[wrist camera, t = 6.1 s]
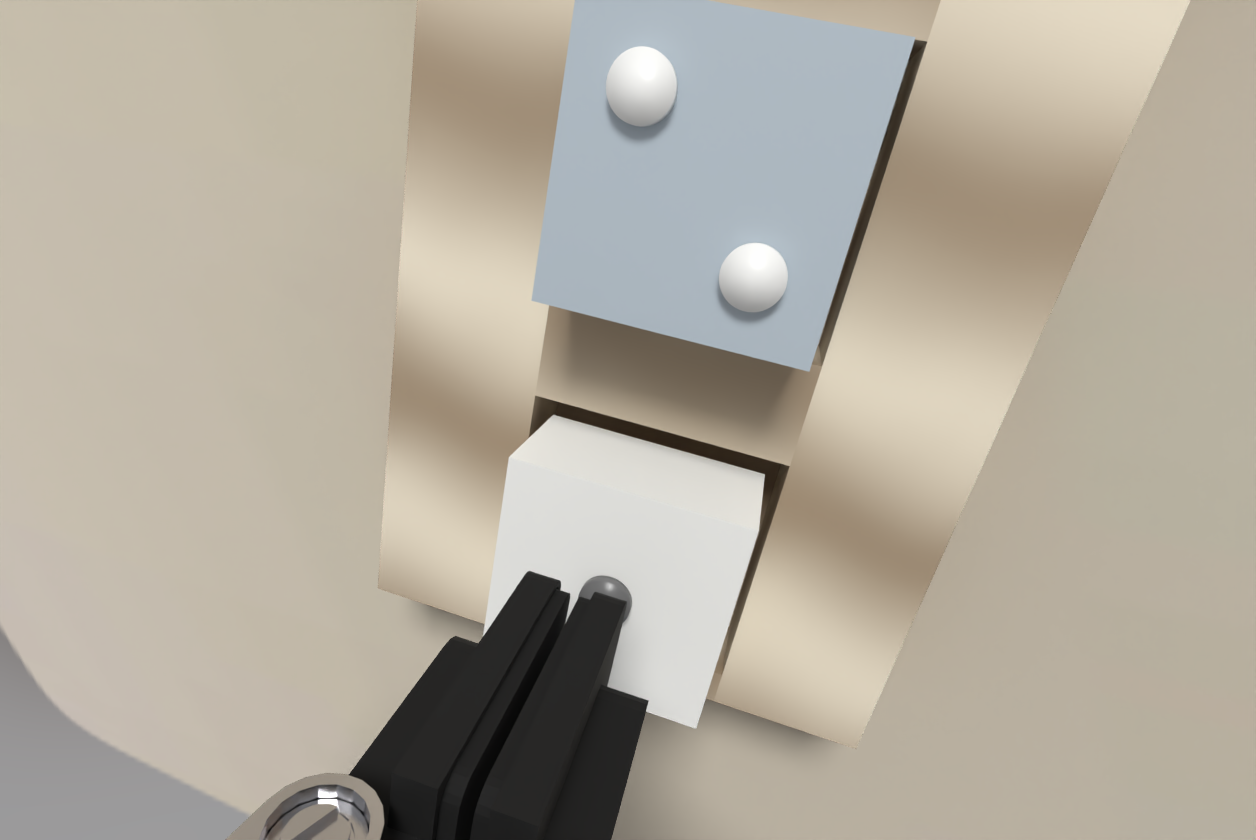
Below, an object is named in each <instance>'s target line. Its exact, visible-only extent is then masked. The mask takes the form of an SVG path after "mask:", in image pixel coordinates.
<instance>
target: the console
mask: <svg viewBox="0 0 1256 840" xmlns="http://www.w3.org/2000/svg"><path fill="white" fill-rule="evenodd" d="M709 1H715V2H720V3H726V4H732V5H737V6H743V7H749V8H754V9H760V10H765V11H771V12H777V13H782V14H788V15H794V16H799V17H805V18H811V19H816V20H822V21H828V22H833V23H839V24H844V25H850V26H856V27H861V28H867V29H873V30H878V31H884V32H890V33H895V34H901V35H906V36H912V37H915V41H914V44H913V47H912V50H911V53H910V56H909V59H908V63H907V66H906V69H905V72H904V75H903V78H902V82H901V85H900V88H899V91H898V94H897V97H896V100H895V104H894V107H893V110H892V113H891V116H890V119H889V122H888V126H887V129H886V132H885V135H884V138H883V141H882V145H881V148H880V151H879V154H878V157H877V160H876V163H875V167H874V170H873V173H872V176H871V179H870V182H869V185H868V189H867V192H866V195H865V198H864V201H863V204H862V208H861V211H860V214H859V217H858V220H857V223H856V226H855V230H854V233H853V236H852V239H851V242H850V245H849V249H848V252H847V255H846V258H845V261H844V264H843V267H842V271H841V274H840V277H839V280H838V283H837V286H836V289H835V293H834V296H833V299H832V302H831V305H830V308H829V312H828V315H827V318H826V321H825V324H824V327H823V330H822V334H821V337H820V340H819V343H818V346H817V349H816V352H815V356H814V359H813V362H812V365H811V368H810V371H809V372H808V371H804V370H800V369H796V368H793V367H789V366H785V365H781V364H777V363H773V362H769V361H765V360H761V359H757V358H753V357H750V356H746V355H742V354H738V353H734V352H730V351H726V350H722V349H718V348H714V347H710V346H707V345H703V344H699V343H695V342H691V341H687V340H683V339H679V338H675V337H671V336H667V335H664V334H660V333H656V332H652V331H648V330H644V329H640V328H636V327H632V326H628V325H625V324H621V323H617V322H613V321H609V320H605V319H601V318H597V317H593V316H589V315H585V314H582V313H578V312H574V311H570V310H566V309H562V308H558V307H554V306H550V305H546V304H542V303H539V302H535V301H531V300H532V294H533V287H534V280H535V273H536V266H537V259H538V252H539V245H540V238H541V231H542V224H543V217H544V210H545V203H546V197H547V190H548V183H549V176H550V169H551V162H552V155H553V148H554V141H555V134H556V127H557V120H558V113H559V107H560V100H561V93H562V86H563V79H564V72H565V65H566V58H567V51H568V44H569V37H570V30H571V23H572V17H573V10H574V3H575V0H417V10H416V25H415V40H414V55H413V70H412V85H411V100H410V115H409V130H408V144H407V159H406V174H405V189H404V204H403V219H402V234H401V249H400V264H399V279H398V294H397V309H396V324H395V338H394V353H393V368H392V383H391V398H390V413H389V428H388V443H387V458H386V473H385V488H384V503H383V517H382V532H381V547H380V562H379V577H378V589H381V590H384V591H387V592H390V593H393V594H396V595H399V596H402V597H405V598H408V599H411V600H414V601H417V602H420V603H423V604H426V605H429V606H432V607H435V608H438V609H441V610H444V611H447V612H450V613H453V614H456V615H459V616H462V617H465V618H468V619H471V620H474V621H477V622H480V623H482V624H485V619H486V612H487V605H488V598H489V591H490V584H491V577H492V571H493V564H494V557H495V550H496V543H497V536H498V529H499V522H500V515H501V508H502V501H503V494H504V487H505V480H506V474H507V467H508V460H509V457H510V456H511V455H512V454H513V453H514V452H515V451H516V450H517V449H518V448H519V447H520V446H521V445H522V444H523V443H524V442H525V441H526V440H527V439H528V438H529V437H530V436H532V435H533V434H534V433H535V432H536V431H537V430H538V429H539V428H540V427H541V426H542V425H543V424H544V423H545V422H546V421H547V420H548V419H549V418H550V417H551V416H553V415H556V416H560V417H563V418H567V419H570V420H574V421H577V422H581V423H584V424H588V425H592V426H595V427H599V428H602V429H606V430H609V431H613V432H616V433H620V434H624V435H627V436H631V437H634V438H638V439H641V440H645V441H648V442H652V443H656V444H659V445H663V446H666V447H670V448H673V449H677V450H680V451H684V452H688V453H691V454H695V455H698V456H702V457H705V458H709V459H712V460H716V461H720V462H723V463H727V464H730V465H734V466H737V467H741V468H744V469H748V470H752V471H755V472H759V473H762V474H765V478H764V488H763V497H762V506H761V516H760V525H759V532H758V535H757V538H756V542H755V545H754V548H753V551H752V554H751V557H750V560H749V564H748V567H747V570H746V573H745V576H744V579H743V583H742V586H741V589H740V592H739V595H738V598H737V601H736V605H735V608H734V611H733V614H732V617H731V620H730V623H729V627H728V630H727V633H726V636H725V639H724V642H723V646H722V649H721V652H720V655H719V658H718V661H717V664H716V668H715V671H714V674H713V677H712V680H711V683H710V686H709V690H708V693H707V696H706V699H709V700H712V701H714V702H717V703H720V704H723V705H726V706H729V707H732V708H735V709H738V710H741V711H744V712H747V713H750V714H753V715H756V716H759V717H762V718H765V719H768V720H771V721H774V722H777V723H780V724H783V725H786V726H789V727H792V728H795V729H798V730H801V731H804V732H807V733H810V734H813V735H816V736H819V737H822V738H825V739H827V740H830V741H833V742H836V743H839V744H842V745H845V746H848V747H851V748H854V749H856V748H857V746H858V744H859V742H860V739H861V737H862V735H863V733H864V730H865V728H866V726H867V724H868V721H869V719H870V717H871V715H872V712H873V710H874V708H875V706H876V703H877V701H878V699H879V697H880V695H881V692H882V690H883V688H884V686H885V683H886V681H887V679H888V677H889V674H890V672H891V670H892V668H893V665H894V663H895V661H896V659H897V656H898V654H899V652H900V650H901V647H902V645H903V643H904V641H905V639H906V636H907V634H908V632H909V630H910V627H911V625H912V623H913V621H914V618H915V616H916V614H917V612H918V609H919V607H920V605H921V603H922V600H923V598H924V596H925V594H926V592H927V589H928V587H929V585H930V583H931V580H932V578H933V576H934V574H935V571H936V569H937V567H938V565H939V562H940V560H941V558H942V556H943V553H944V551H945V549H946V547H947V544H948V542H949V540H950V538H951V536H952V533H953V531H954V529H955V527H956V524H957V522H958V520H959V518H960V515H961V513H962V511H963V509H964V506H965V504H966V502H967V500H968V497H969V495H970V493H971V491H972V488H973V486H974V484H975V482H976V480H977V477H978V475H979V473H980V471H981V468H982V466H983V464H984V462H985V459H986V457H987V455H988V453H989V450H990V448H991V446H992V444H993V441H994V439H995V437H996V435H997V432H998V430H999V428H1000V426H1001V424H1002V421H1003V419H1004V417H1005V415H1006V412H1007V410H1008V408H1009V406H1010V403H1011V401H1012V399H1013V397H1014V394H1015V392H1016V390H1017V388H1018V385H1019V383H1020V381H1021V379H1022V377H1023V374H1024V372H1025V370H1026V368H1027V365H1028V363H1029V361H1030V359H1031V356H1032V354H1033V352H1034V350H1035V347H1036V345H1037V343H1038V341H1039V338H1040V336H1041V334H1042V332H1043V329H1044V327H1045V325H1046V323H1047V321H1048V318H1049V316H1050V314H1051V312H1052V309H1053V307H1054V305H1055V303H1056V300H1057V298H1058V296H1059V294H1060V291H1061V289H1062V287H1063V285H1064V282H1065V280H1066V278H1067V276H1068V273H1069V271H1070V269H1071V267H1072V265H1073V262H1074V260H1075V258H1076V256H1077V253H1078V251H1079V249H1080V247H1081V244H1082V242H1083V240H1084V238H1085V235H1086V233H1087V231H1088V229H1089V226H1090V224H1091V222H1092V220H1093V218H1094V215H1095V213H1096V211H1097V209H1098V206H1099V204H1100V202H1101V200H1102V197H1103V195H1104V193H1105V191H1106V188H1107V186H1108V184H1109V182H1110V179H1111V177H1112V175H1113V173H1114V170H1115V168H1116V166H1117V164H1118V162H1119V159H1120V157H1121V155H1122V153H1123V150H1124V148H1125V146H1126V144H1127V141H1128V139H1129V137H1130V135H1131V132H1132V130H1133V128H1134V126H1135V123H1136V121H1137V119H1138V117H1139V114H1140V112H1141V110H1142V108H1143V106H1144V103H1145V101H1146V99H1147V97H1148V94H1149V92H1150V90H1151V88H1152V85H1153V83H1154V81H1155V79H1156V76H1157V74H1158V72H1159V70H1160V67H1161V65H1162V63H1163V61H1164V59H1165V56H1166V54H1167V52H1168V50H1169V47H1170V45H1171V43H1172V41H1173V38H1174V36H1175V34H1176V32H1177V29H1178V27H1179V25H1180V23H1181V20H1182V18H1183V16H1184V14H1185V11H1186V9H1187V7H1188V5H1189V3H1190V0H709Z"/></svg>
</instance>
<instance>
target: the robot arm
mask: <svg viewBox="0 0 1256 840" xmlns="http://www.w3.org/2000/svg"><path fill="white" fill-rule="evenodd" d="M569 602H570V593H568V592H564V591H561V581H560V580H557V579H554V578H551V577H547V576H544V575H541V574H538V573H535V572H532V571H528V572H527V573H526V574H525V575H524V576H523V578H522V579H521V581H520V582H519V584H518V585H517V587H516V588H515V590H514V591H513V593H512V594H511V596H510V597H509V599H508V600H507V602H506V603H505V605H504V606H503V608H502V609H501V611H500V612H499V614H498V615H497V617H496V618H495V620H494V621H493V623H492V624H491V626H490V627H489V629H488V630H487V632H486V633H485V635H484V636H483V638H482V639H481V641H480V642H479V644H478V643H475V642H472V641H469V640H466V639H463V638H460V637H457V636H455V637H453V638H451V639H450V640H449V641H448V642H447V643H446V645H445V646H444V647H443V648H442V650H441V651H440V652H439V654H438V655H437V657H436V658H435V659H434V661H433V662H432V663H431V665H430V666H429V667H428V669H427V670H426V671H425V673H424V674H423V675H422V677H421V678H420V679H419V681H418V682H417V684H416V685H415V686H414V688H413V689H412V690H411V692H410V693H409V694H408V696H407V697H406V698H405V700H404V701H403V702H402V704H401V705H400V706H399V708H398V709H397V711H396V712H395V713H394V715H393V716H392V717H391V719H390V720H389V721H388V723H387V724H386V725H385V727H384V728H383V729H382V731H381V732H380V733H379V735H378V736H377V738H376V739H375V740H374V742H373V743H372V744H371V746H370V747H369V748H368V750H367V751H366V752H365V754H364V755H363V756H362V758H361V759H360V760H359V762H358V763H357V765H356V766H355V767H354V769H353V770H352V771H351V773H350V774H349V775H347V774H336V773H324V774H319V775H314V776H309V777H305V778H303V779H301V780H298V781H296V782H294V783H292V784H289V785H287V786H285V787H284V788H283V789H281V790H280V791H279V792H277V793H276V794H275V795H273V796H272V797H271V798H269V799H268V800H267V801H266V802H265V803H264V804H263V805H262V806H260V807H259V808H258V809H257V810H256V811H255V812H254V813H253V814H252V815H251V816H250V817H249V818H248V819H247V820H246V821H245V822H243V824H242V825H240V826H239V827H238V828H237V829H236V830H235V831H234V832H233V833H232V834H231V835H230V836H229V837H228V838H227V839H226V840H611V838H612V835H613V831H614V827H615V823H616V820H617V816H618V812H619V809H620V805H621V801H622V798H623V794H624V790H625V787H626V783H627V779H628V775H629V772H630V768H631V764H632V761H633V757H634V753H635V750H636V746H637V742H638V739H639V735H640V731H641V727H642V724H643V720H644V716H645V713H646V709H647V705H648V702H649V700H646V699H643V698H640V697H637V696H634V695H631V694H628V693H625V692H622V691H619V690H616V689H613V688H610V687H607V686H608V682H609V677H610V673H611V669H612V665H613V661H614V657H615V653H616V648H617V644H618V640H619V636H620V632H621V628H622V624H623V619H624V615H625V611H626V607H627V601H624V600H621V599H618V598H614V597H611V596H608V595H605V594H602V593H598V592H594V593H593V595H592V597H591V599H587V598H583V597H579V598H578V600H577V601H576V603H575V605H574V607H573V609H572V611H571V613H570V615H569V617H568V619H567V621H566V617H567V612H568V607H569ZM565 622H566V623H565Z"/></svg>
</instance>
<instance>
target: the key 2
mask: <svg viewBox="0 0 1256 840" xmlns="http://www.w3.org/2000/svg"><path fill="white" fill-rule="evenodd" d="M914 41H915V37H912V36H906V35H901V34H895V33H890V32H884V31H878V30H873V29H867V28H861V27H856V26H850V25H844V24H839V23H833V22H828V21H822V20H816V19H811V18H805V17H799V16H794V15H788V14H782V13H777V12H771V11H765V10H760V9H754V8H749V7H743V6H737V5H732V4H726V3H720V2H715V1H709V0H575V3H574V10H573V17H572V23H571V30H570V37H569V44H568V51H567V58H566V65H565V72H564V79H563V86H562V93H561V100H560V107H559V113H558V120H557V127H556V134H555V141H554V148H553V155H552V162H551V169H550V176H549V183H548V190H547V197H546V203H545V210H544V217H543V224H542V231H541V238H540V245H539V252H538V259H537V266H536V273H535V280H534V287H533V294H532V300H531V301H535V302H539V303H542V304H546V305H550V306H554V307H558V308H562V309H566V310H570V311H574V312H578V313H582V314H585V315H589V316H593V317H597V318H601V319H605V320H609V321H613V322H617V323H621V324H625V325H628V326H632V327H636V328H640V329H644V330H648V331H652V332H656V333H660V334H664V335H667V336H671V337H675V338H679V339H683V340H687V341H691V342H695V343H699V344H703V345H707V346H710V347H714V348H718V349H722V350H726V351H730V352H734V353H738V354H742V355H746V356H750V357H753V358H757V359H761V360H765V361H769V362H773V363H777V364H781V365H785V366H789V367H793V368H796V369H800V370H804V371H808V372H809V371H810V368H811V365H812V362H813V359H814V356H815V352H816V349H817V346H818V343H819V340H820V337H821V334H822V330H823V327H824V324H825V321H826V318H827V315H828V312H829V308H830V305H831V302H832V299H833V296H834V293H835V289H836V286H837V283H838V280H839V277H840V274H841V271H842V267H843V264H844V261H845V258H846V255H847V252H848V249H849V245H850V242H851V239H852V236H853V233H854V230H855V226H856V223H857V220H858V217H859V214H860V211H861V208H862V204H863V201H864V198H865V195H866V192H867V189H868V185H869V182H870V179H871V176H872V173H873V170H874V167H875V163H876V160H877V157H878V154H879V151H880V148H881V145H882V141H883V138H884V135H885V132H886V129H887V126H888V122H889V119H890V116H891V113H892V110H893V107H894V104H895V100H896V97H897V94H898V91H899V88H900V85H901V82H902V78H903V75H904V72H905V69H906V66H907V63H908V59H909V56H910V53H911V50H912V47H913V44H914Z"/></svg>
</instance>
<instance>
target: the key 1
mask: <svg viewBox="0 0 1256 840" xmlns="http://www.w3.org/2000/svg"><path fill="white" fill-rule="evenodd" d="M764 478H765V474H762V473H759V472H755V471H752V470H748V469H744V468H741V467H737V466H734V465H730V464H727V463H723V462H720V461H716V460H712V459H709V458H705V457H702V456H698V455H695V454H691V453H688V452H684V451H680V450H677V449H673V448H670V447H666V446H663V445H659V444H656V443H652V442H648V441H645V440H641V439H638V438H634V437H631V436H627V435H624V434H620V433H616V432H613V431H609V430H606V429H602V428H599V427H595V426H592V425H588V424H584V423H581V422H577V421H574V420H570V419H567V418H563V417H560V416H556V415H553V416H551V417H550V418H549V419H548V420H547V421H546V422H545V423H544V424H543V425H542V426H541V427H540V428H539V429H538V430H537V431H536V432H535V433H534V434H533V435H532V436H530V437H529V438H528V439H527V440H526V441H525V442H524V443H523V444H522V445H521V446H520V447H519V448H518V449H517V450H516V451H515V452H514V453H513V454H512V455H511V456H510V457H509V460H508V467H507V474H506V480H505V487H504V494H503V501H502V508H501V515H500V522H499V529H498V536H497V543H496V550H495V557H494V564H493V571H492V577H491V584H490V591H489V598H488V605H487V612H486V619H485V626H484V633H483V636H484V635H485V633H486V632H487V630H488V629H489V627H490V626H491V624H492V623H493V621H494V620H495V618H496V617H497V615H498V614H499V612H500V611H501V609H502V608H503V606H504V605H505V603H506V602H507V600H508V599H509V597H510V596H511V594H512V593H513V591H514V590H515V588H516V587H517V585H518V584H519V582H520V581H521V579H522V578H523V576H524V575H525V574H526V573H527V572H528V571H532V572H535V573H538V574H541V575H544V576H547V577H551V578H554V579H557V580H560V581H561V591H564V592H568V593H570V602H569V607H568V612H567V617H566V621H567V619H568V617H569V615H570V613H571V611H572V609H573V607H574V605H575V603H576V601H577V600H578V598H579V597H583V598H587V599H591V597H592V595H593V593H594V592H598V593H602V594H605V595H608V596H611V597H614V598H618V599H621V600H624V601H627V607H626V611H625V615H624V619H623V624H622V628H621V632H620V636H619V640H618V644H617V648H616V653H615V657H614V661H613V665H612V669H611V673H610V677H609V682H608V686H607V687H610V688H613V689H616V690H619V691H622V692H625V693H628V694H631V695H634V696H637V697H640V698H643V699H646V700H649V702H648V705H647V709H646V712H649V713H651V714H654V715H657V716H660V717H663V718H666V719H669V720H672V721H675V722H678V723H681V724H683V725H686V726H689V727H692V728H695V729H696V727H697V724H698V721H699V718H700V715H701V712H702V709H703V705H704V702H705V699H706V696H707V693H708V690H709V686H710V683H711V680H712V677H713V674H714V671H715V668H716V664H717V661H718V658H719V655H720V652H721V649H722V646H723V642H724V639H725V636H726V633H727V630H728V627H729V623H730V620H731V617H732V614H733V611H734V608H735V605H736V601H737V598H738V595H739V592H740V589H741V586H742V583H743V579H744V576H745V573H746V570H747V567H748V564H749V560H750V557H751V554H752V551H753V548H754V545H755V542H756V538H757V535H758V532H759V525H760V516H761V506H762V497H763V488H764ZM565 623H566V622H565Z"/></svg>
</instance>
